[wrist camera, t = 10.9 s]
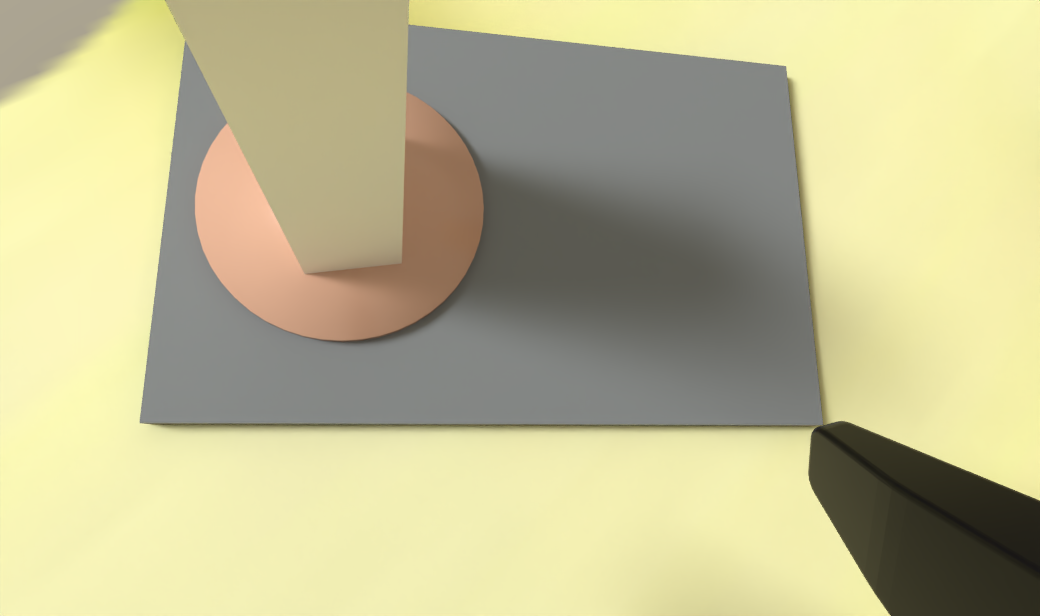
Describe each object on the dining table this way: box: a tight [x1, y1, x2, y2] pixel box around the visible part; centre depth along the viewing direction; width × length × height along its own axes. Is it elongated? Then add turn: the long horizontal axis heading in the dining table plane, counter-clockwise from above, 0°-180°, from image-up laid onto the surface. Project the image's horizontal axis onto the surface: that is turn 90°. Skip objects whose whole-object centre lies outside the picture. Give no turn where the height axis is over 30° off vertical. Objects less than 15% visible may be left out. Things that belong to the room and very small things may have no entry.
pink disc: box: [195, 92, 484, 342], centre depth 21 cm, size 9×9×1 cm
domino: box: [165, 0, 409, 274], centre depth 15 cm, size 4×3×13 cm
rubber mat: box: [140, 25, 823, 426], centre depth 23 cm, size 22×14×1 cm, turn 90°
